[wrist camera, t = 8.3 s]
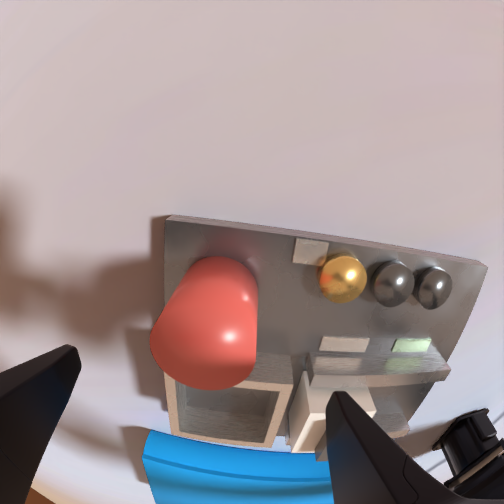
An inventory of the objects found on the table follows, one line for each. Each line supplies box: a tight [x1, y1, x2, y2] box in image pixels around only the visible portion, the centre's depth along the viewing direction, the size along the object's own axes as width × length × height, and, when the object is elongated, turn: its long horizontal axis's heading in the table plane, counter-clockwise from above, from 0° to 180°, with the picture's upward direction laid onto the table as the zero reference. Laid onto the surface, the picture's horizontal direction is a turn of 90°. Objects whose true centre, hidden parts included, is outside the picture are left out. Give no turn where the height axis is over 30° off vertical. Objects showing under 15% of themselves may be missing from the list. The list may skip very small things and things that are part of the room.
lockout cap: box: [150, 256, 258, 390], centre depth 12 cm, size 4×4×5 cm
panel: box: [164, 215, 488, 448], centre depth 15 cm, size 16×20×4 cm
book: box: [142, 430, 334, 504], centre depth 23 cm, size 17×4×25 cm
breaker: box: [288, 371, 376, 462], centre depth 15 cm, size 4×4×4 cm
